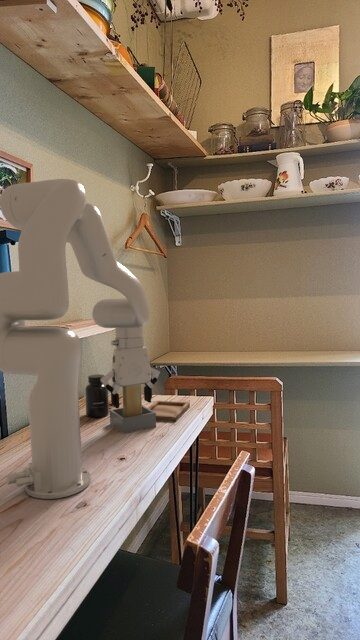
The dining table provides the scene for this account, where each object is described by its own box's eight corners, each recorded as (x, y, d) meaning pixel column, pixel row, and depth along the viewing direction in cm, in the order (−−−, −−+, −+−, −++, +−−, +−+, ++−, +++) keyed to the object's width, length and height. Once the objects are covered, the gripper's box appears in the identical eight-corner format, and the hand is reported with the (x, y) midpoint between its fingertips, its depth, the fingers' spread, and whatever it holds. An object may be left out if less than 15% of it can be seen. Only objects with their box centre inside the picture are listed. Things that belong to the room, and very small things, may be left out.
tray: (175, 422, 125) (175, 417, 125) (139, 419, 128) (139, 414, 128) (189, 406, 140) (189, 402, 139) (156, 404, 143) (156, 400, 142)
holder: (123, 433, 117) (122, 418, 116) (110, 423, 125) (109, 409, 125) (156, 426, 121) (155, 412, 121) (141, 417, 130) (140, 404, 129)
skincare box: (123, 422, 126) (121, 380, 124) (138, 421, 127) (136, 379, 126) (127, 430, 119) (125, 385, 118) (143, 428, 121) (141, 384, 120)
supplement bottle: (96, 419, 129) (95, 379, 128) (81, 415, 133) (79, 376, 132) (113, 413, 134) (112, 375, 133) (98, 410, 138) (96, 372, 137)
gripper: (104, 348, 114) (107, 413, 115) (164, 341, 122) (166, 402, 124) (94, 344, 120) (97, 406, 122) (152, 338, 128) (154, 396, 130)
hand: (132, 404), depth 123 cm, fingers open, 9 cm apart
